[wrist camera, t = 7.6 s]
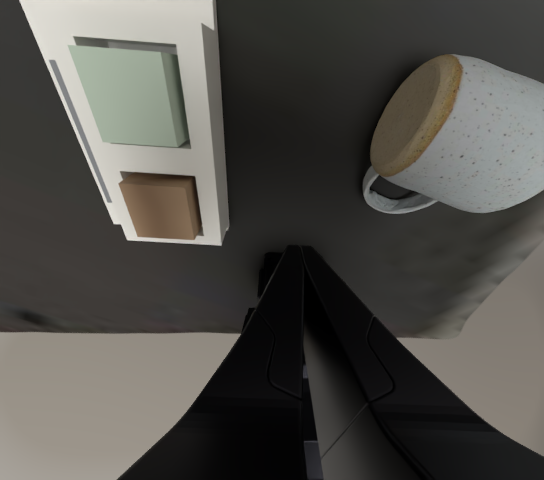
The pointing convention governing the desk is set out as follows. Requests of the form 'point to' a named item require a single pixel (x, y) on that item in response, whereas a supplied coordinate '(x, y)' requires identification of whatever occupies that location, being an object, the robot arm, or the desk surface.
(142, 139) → the sage key
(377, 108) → the desk surface
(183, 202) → the walnut key
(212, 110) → the key panel
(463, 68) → the ceramic mug
